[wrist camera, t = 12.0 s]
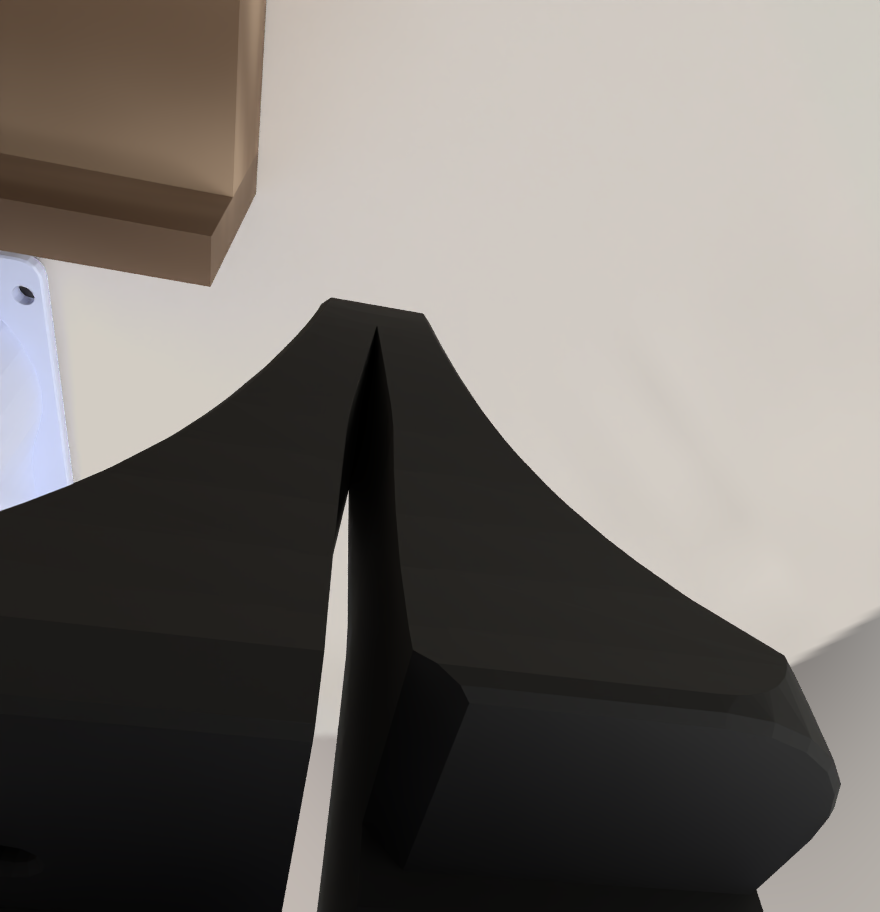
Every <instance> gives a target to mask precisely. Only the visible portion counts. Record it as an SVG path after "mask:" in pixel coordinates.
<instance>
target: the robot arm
mask: <svg viewBox="0 0 880 912" xmlns="http://www.w3.org/2000/svg"><path fill="white" fill-rule="evenodd" d="M19 286H23V287H26V288H28V289H29V290H30V291H31V292H32V293H33V295H34V297H35V298H30V297H27V296H25V295H24V294H23V293H22V292H21V291H20V289H19ZM348 490H349V520H348V631H347V650H346V662H345V671H344V681H343V690H342V699H341V708H340V717H339V726H338V735H337V744H336V753H335V762H334V771H333V780H332V789H331V798H330V806H329V815H328V823H327V833H326V840H325V850H324V858H323V866H322V875H321V883H320V892H319V900H318V908H317V912H763V909H762V906H761V903H760V900H759V897H758V894H757V890H756V889H757V888H759V887H760V886H761V885H762V884H763V883H764V882H765V881H766V880H767V879H768V878H770V876H772V875H773V874H774V873H775V872H776V871H777V870H778V869H779V868H780V867H782V865H784V864H785V863H786V862H787V861H788V860H789V859H790V858H791V857H792V856H794V855H795V854H796V853H797V852H798V851H799V850H800V849H801V848H802V847H803V846H804V845H805V844H807V843H808V842H809V841H810V840H811V839H812V838H813V836H814V835H815V834H816V833H817V832H818V830H819V829H820V828H821V827H822V825H823V824H824V823H825V822H826V820H827V819H828V818H829V816H830V814H831V813H832V811H833V809H834V807H835V803H836V799H837V795H838V792H839V789H840V785H841V783H840V780H839V776H838V773H837V769H836V766H835V763H834V760H833V757H832V755H831V753H830V751H829V749H828V746H827V744H826V742H825V740H824V737H823V735H822V733H821V731H820V729H819V726H818V724H817V722H816V720H815V717H814V715H813V713H812V711H811V709H810V706H809V704H808V702H807V700H806V698H805V696H804V694H803V692H802V689H801V687H800V685H799V683H798V681H797V679H796V677H795V675H794V673H793V671H792V669H791V667H790V665H789V664H788V662H787V660H786V658H785V656H784V655H782V654H781V653H779V652H777V651H776V650H774V649H772V648H771V647H769V646H767V645H766V644H764V643H762V642H761V641H759V640H757V639H756V638H754V637H752V636H751V635H749V634H747V633H746V632H744V631H742V630H741V629H739V628H737V627H736V626H734V625H732V624H731V623H729V622H728V621H726V620H724V619H723V618H721V617H719V616H718V615H716V614H714V613H713V612H711V611H709V610H708V609H706V608H704V607H703V606H701V605H699V604H698V603H696V602H694V601H693V600H691V599H690V598H688V597H687V596H685V595H684V594H682V593H681V592H679V591H678V590H676V589H675V588H673V587H672V586H671V585H669V584H668V583H666V582H665V581H664V580H662V579H661V578H659V577H658V576H656V575H655V574H654V573H652V572H651V571H649V570H648V569H647V568H645V567H644V566H642V565H641V564H639V563H638V562H637V561H635V560H634V559H633V558H631V557H630V556H629V555H627V554H626V553H625V552H624V551H622V550H621V549H620V548H618V547H617V546H616V545H614V544H613V543H612V542H611V541H609V540H608V539H607V538H605V537H604V536H603V535H602V534H601V533H600V532H598V531H597V530H596V529H595V528H594V527H593V526H591V525H590V524H589V523H588V522H587V521H586V520H584V519H583V518H582V517H581V516H580V515H579V514H577V513H576V512H575V511H574V510H573V509H572V508H570V507H569V506H568V505H567V504H566V503H565V502H564V501H563V500H562V499H561V498H559V497H558V496H557V495H556V494H555V493H554V492H553V491H552V490H551V489H550V488H549V487H548V486H547V485H546V484H545V483H544V482H543V481H542V480H541V479H540V478H539V477H538V476H537V475H536V474H535V473H534V472H533V470H532V469H531V468H530V467H529V466H528V465H527V464H526V463H525V462H524V461H523V460H522V459H521V458H520V457H519V456H518V455H517V454H516V452H515V451H514V450H513V449H512V448H511V447H510V446H509V444H508V443H507V442H506V441H505V440H504V438H503V437H502V436H501V435H500V433H499V432H498V431H497V430H496V428H495V427H494V426H493V424H492V423H491V422H490V421H489V419H488V418H487V417H486V415H485V414H484V413H483V411H482V410H481V408H480V407H479V406H478V404H477V403H476V401H475V400H474V398H473V397H472V395H471V394H470V392H469V391H468V389H467V387H466V386H465V384H464V383H463V381H462V380H461V378H460V377H459V375H458V373H457V372H456V370H455V369H454V367H453V365H452V363H451V362H450V360H449V358H448V357H447V355H446V353H445V351H444V350H443V348H442V346H441V344H440V342H439V340H438V339H437V337H436V335H435V333H434V331H433V329H432V327H431V325H430V323H429V322H428V320H427V319H426V317H425V316H424V314H422V313H417V312H411V311H405V310H400V309H394V308H388V307H382V306H377V305H371V304H365V303H360V302H354V301H348V300H342V299H337V298H330V299H328V300H327V301H325V302H324V303H322V304H321V306H320V307H319V309H318V311H317V312H316V313H315V315H314V316H313V317H312V318H311V320H310V321H309V322H308V323H307V324H306V326H305V327H304V328H303V329H302V330H301V331H300V332H299V333H298V335H297V336H296V337H295V338H294V339H293V340H292V341H291V342H290V343H289V344H288V345H287V346H286V347H285V348H284V349H283V350H282V351H281V352H280V353H279V354H278V355H277V356H276V357H275V358H274V359H273V360H272V361H271V362H270V363H269V364H268V365H267V366H265V367H264V368H263V369H262V370H261V371H260V372H259V373H257V374H256V375H255V376H254V377H253V378H251V379H250V380H249V381H248V382H247V383H245V384H244V385H243V386H242V387H241V388H239V389H238V390H237V391H236V392H234V393H233V394H232V395H231V396H230V397H228V398H227V399H226V400H224V401H223V402H222V403H220V404H219V405H217V406H216V407H215V408H213V409H212V410H211V411H209V412H208V413H206V414H205V415H203V416H202V417H200V418H199V419H197V420H196V421H194V422H193V423H191V424H190V425H188V426H186V427H185V428H183V429H182V430H180V431H179V432H177V433H175V434H174V435H172V436H170V437H169V438H167V439H165V440H163V441H161V442H159V443H157V444H155V445H153V446H151V447H150V448H148V449H146V450H144V451H142V452H140V453H138V454H136V455H134V456H132V457H130V458H128V459H126V460H124V461H122V462H120V463H118V464H116V465H114V466H112V467H110V468H108V469H106V470H104V471H101V472H99V473H97V474H94V475H92V476H90V477H87V478H85V479H83V480H80V481H78V482H76V483H74V482H73V475H72V467H71V459H70V451H69V443H68V435H67V427H66V419H65V411H64V403H63V396H62V388H61V380H60V372H59V364H58V356H57V348H56V340H55V332H54V325H53V317H52V309H51V301H50V293H49V285H48V277H47V273H46V270H45V267H44V266H43V265H42V264H41V262H40V261H39V260H37V259H36V258H35V257H33V256H30V255H24V254H19V253H13V252H7V251H1V250H0V912H282V907H283V902H284V896H285V890H286V885H287V880H288V874H289V869H290V863H291V858H292V852H293V847H294V841H295V836H296V830H297V825H298V820H299V814H300V809H301V803H302V797H303V792H304V787H305V781H306V776H307V770H308V765H309V759H310V754H311V748H312V743H313V737H314V730H315V723H316V715H317V706H318V698H319V690H320V682H321V673H322V665H323V657H324V648H325V636H326V624H327V612H328V602H329V591H330V580H331V570H332V559H333V553H334V549H335V544H336V540H337V536H338V532H339V528H340V524H341V520H342V515H343V511H344V507H345V503H346V499H347V495H348Z"/></svg>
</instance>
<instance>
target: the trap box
mask: <svg viewBox="0 0 880 912" xmlns="http://www.w3.org/2000/svg"><path fill="white" fill-rule="evenodd" d="M265 14H266V0H0V250H1V251H7V252H13V253H19V254H24V255H30V256H36V257H42V258H47V259H53V260H59V261H65V262H71V263H76V264H82V265H88V266H94V267H99V268H105V269H111V270H117V271H122V272H128V273H134V274H140V275H146V276H151V277H157V278H163V279H169V280H174V281H180V282H186V283H192V284H198V285H203V286H209V287H210V286H211V284H212V282H213V280H214V278H215V276H216V274H217V272H218V270H219V268H220V266H221V264H222V262H223V260H224V258H225V256H226V254H227V252H228V250H229V248H230V245H231V243H232V241H233V239H234V237H235V235H236V233H237V231H238V229H239V227H240V225H241V223H242V221H243V219H244V217H245V215H246V213H247V211H248V209H249V207H250V205H251V202H252V200H253V198H254V196H255V194H256V182H257V163H258V144H259V126H260V107H261V89H262V70H263V51H264V33H265Z"/></svg>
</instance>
